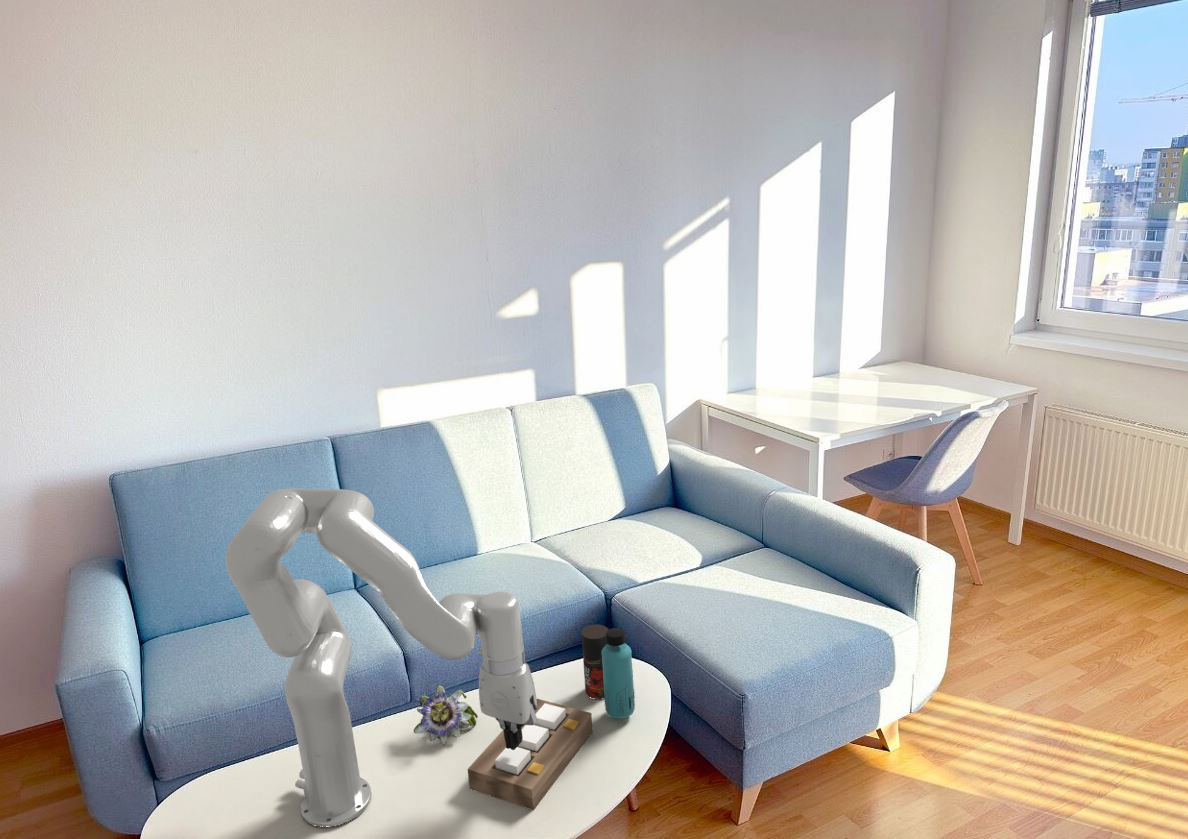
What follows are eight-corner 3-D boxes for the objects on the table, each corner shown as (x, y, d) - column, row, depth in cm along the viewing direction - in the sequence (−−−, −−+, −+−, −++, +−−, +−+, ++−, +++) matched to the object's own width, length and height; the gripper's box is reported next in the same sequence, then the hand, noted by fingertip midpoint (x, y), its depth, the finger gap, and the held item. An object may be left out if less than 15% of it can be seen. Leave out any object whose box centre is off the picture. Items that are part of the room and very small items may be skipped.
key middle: (515, 745, 163) (514, 737, 162) (528, 730, 167) (527, 723, 166) (536, 751, 160) (536, 743, 160) (548, 736, 164) (548, 728, 164)
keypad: (469, 789, 158) (467, 767, 156) (534, 715, 178) (532, 696, 177) (533, 810, 151) (531, 788, 150) (592, 731, 172) (591, 711, 170)
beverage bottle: (633, 726, 173) (629, 641, 167) (601, 724, 174) (596, 639, 168) (637, 707, 179) (634, 624, 173) (607, 705, 180) (602, 622, 175)
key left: (495, 768, 157) (495, 760, 156) (509, 752, 161) (508, 744, 160) (517, 774, 154) (516, 766, 154) (530, 758, 159) (530, 750, 158)
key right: (533, 724, 168) (533, 716, 168) (545, 710, 173) (544, 703, 172) (554, 730, 166) (553, 722, 166) (565, 716, 170) (565, 708, 170)
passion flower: (447, 764, 173) (408, 738, 166) (439, 725, 182) (403, 699, 176) (489, 731, 172) (452, 703, 166) (479, 694, 182) (444, 666, 175)
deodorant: (617, 688, 186) (613, 628, 182) (603, 702, 181) (599, 641, 177) (594, 680, 189) (590, 622, 185) (580, 694, 184) (576, 634, 180)
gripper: (458, 662, 151) (470, 747, 157) (528, 679, 145) (538, 767, 150) (481, 641, 158) (491, 723, 163) (550, 656, 151) (558, 742, 156)
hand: (514, 744), depth 156 cm, fingers closed
